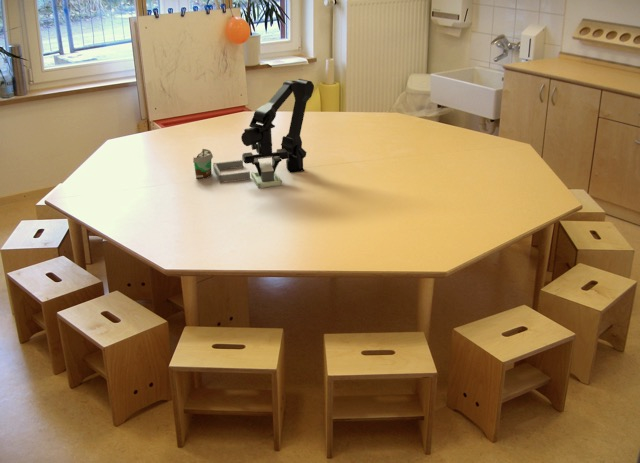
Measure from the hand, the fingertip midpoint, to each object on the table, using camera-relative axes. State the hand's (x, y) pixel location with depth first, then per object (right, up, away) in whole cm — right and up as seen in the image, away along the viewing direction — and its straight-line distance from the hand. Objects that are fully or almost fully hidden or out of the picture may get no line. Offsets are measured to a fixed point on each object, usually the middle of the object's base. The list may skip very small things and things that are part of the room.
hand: (266, 175), depth 320 cm
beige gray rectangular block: (0, -1, 0) cm, 1 cm away
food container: (-26, 0, +8) cm, 28 cm away
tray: (0, -2, +1) cm, 3 cm away
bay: (-16, +1, +9) cm, 18 cm away
